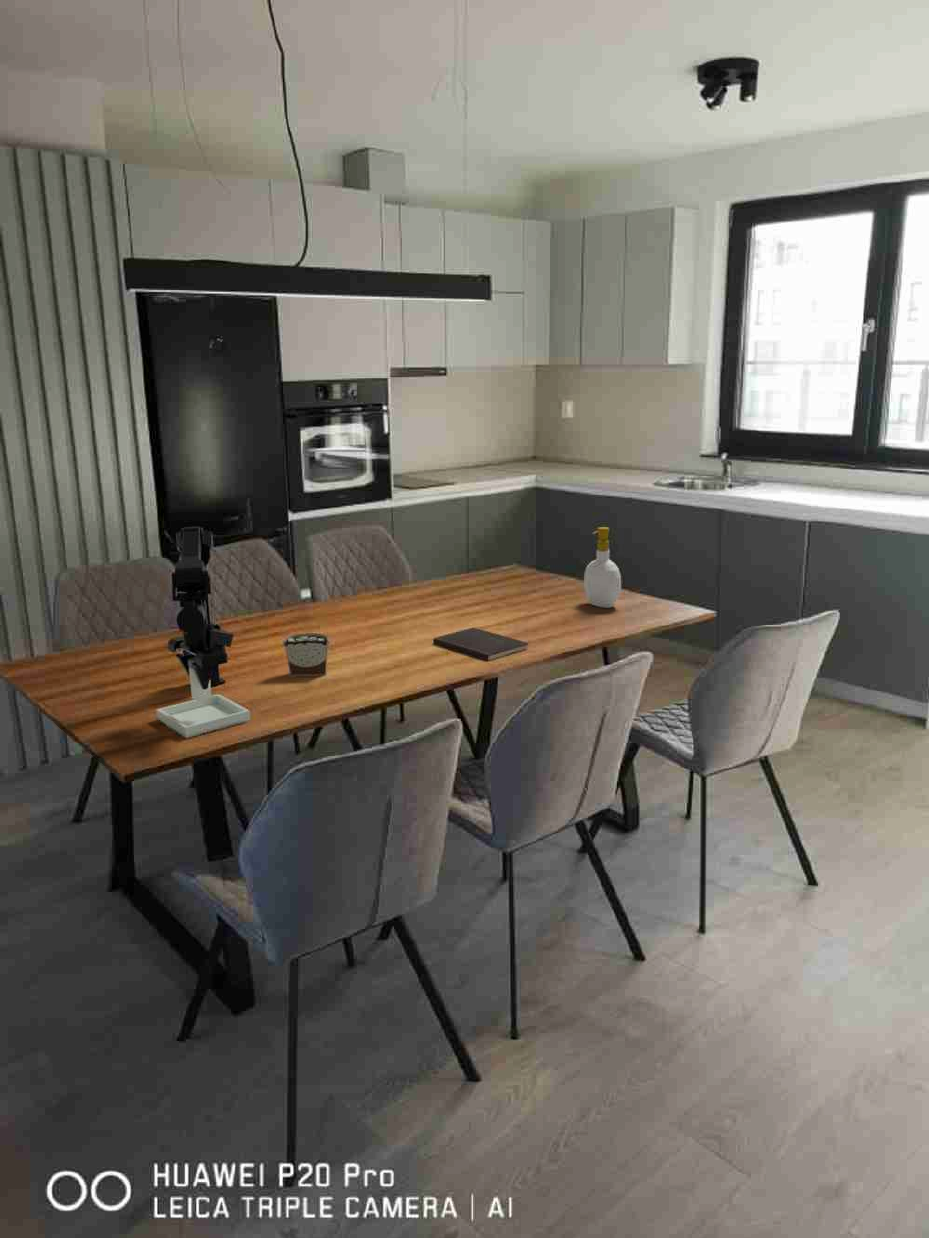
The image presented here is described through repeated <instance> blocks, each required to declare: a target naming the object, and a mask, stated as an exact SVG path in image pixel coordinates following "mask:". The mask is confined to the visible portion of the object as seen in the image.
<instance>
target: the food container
mask: <svg viewBox="0 0 929 1238" xmlns="http://www.w3.org/2000/svg"><path fill="white" fill-rule="evenodd" d="M328 646H329V647H330V646H331V643H330V640H329V638H328V635H325V634H323V633H317V632H305V633H302V632H301V633H296V634H292V635H289V636H287V637H285V638H284V640H283V643H282V648H285V653H286V655H285V656H286V659H287V660H286V661H287V666H288V671H289V675H290V676H291V677H295V676H296V677H298V676H299V677H300V676H302V677H303V676H304V677H305V676H326V675H327V664H328V663H327V662H328Z"/></svg>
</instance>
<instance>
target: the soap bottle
mask: <svg viewBox="0 0 929 1238" xmlns="http://www.w3.org/2000/svg"><path fill="white" fill-rule="evenodd" d="M609 532H610V527H607V526H600V527H597V530H595V531H594V532H592V535H596V534H598V539H599V540H597V550H596V559H594V560H592V561H590V562H589V564H587V566H586V568H585V571H584V576H583V577H584V578H583V582H584V583H583V584H584V591H585V594H586V597H587V601H588V603H589V604H590V605H592V606H594V607H598V608H603V609H611V608H613V607H615V606H616V605H617V602H618V600H619V598H620V595H621V588H622V578H621V577H622V575H621V573H620V569H619V567H618V566H617V565H616V563H615V562H613V560H611V559H610V548H609V546H610V545H609V543H610V541H609V539H608V538H609ZM607 539H608V540H607Z"/></svg>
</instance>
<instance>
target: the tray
mask: <svg viewBox="0 0 929 1238" xmlns="http://www.w3.org/2000/svg"><path fill="white" fill-rule="evenodd" d="M211 695H212V694H211ZM156 719H158V720H157V721H159V720H160V721H161V723H162V722H163V723H164V725H165V724H166V725H165V726H167V728H170V729H171V730H173V731H174V730H175V731H174V732H176V733H177V732H178V733H177V734H179V735H180V734H181V735H180V736H182V737H183V738H185V737H186V738H185V739H190V738H193V736H194V737H196V735H197V736H201V735H204V734H203V733H205V734H207V732H208V733H211V732H210V731H212V732H214V731H213V730H216V731H218V730H222V729H226V728H229V727H233V725H234V726H237V725H241V724H244V723H248V722H250V721H251V713H250V710H249V709H247V708H245V707H244V706H241V705H240V704H238V703H236V702H235V701H232V700H231V699H229V698H227V697H226V696H223V695H221V694H219V693H217V694H213V695H212V696H211V697H210V698H208V699H204V700H194V699H192V700H189V701H185V702H180V703H177V704H172V705H169V706H165V707H161V708H156ZM160 721H159V722H160ZM163 723H162V724H163ZM200 734H201V735H200ZM189 737H190V738H189Z"/></svg>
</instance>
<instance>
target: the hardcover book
mask: <svg viewBox="0 0 929 1238" xmlns="http://www.w3.org/2000/svg"><path fill="white" fill-rule="evenodd" d="M432 641H433V643H432V644H433V645H435V646H438V647H442V648H444V649H449V650H451V651H453V652H454V651H455V652H457V653H460V652H461V654H463V653H464V655H467V656H471V657H473V658H476V659H480V660H483V661H486V662H489V661H492V660H495V659H499V658H501V657H505V656H509V655H512V654H514V653H513V652H515V653H518V652H522V651H525V650H528V645H529V644H530V643H529V642H526V641H523V640H519V639H516V638H512V637H509V636H506V635H501V634H499V633H494V632H491V631H487V630H483V629H482V628H481V629H480V628H477V627H470V628H467V629H463V630H459V631H455V632H452V633H448V634H444V635H441V636H436V637H434V638H433V640H432ZM524 649H525V650H524ZM511 653H512V654H511ZM508 654H509V655H508Z"/></svg>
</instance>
